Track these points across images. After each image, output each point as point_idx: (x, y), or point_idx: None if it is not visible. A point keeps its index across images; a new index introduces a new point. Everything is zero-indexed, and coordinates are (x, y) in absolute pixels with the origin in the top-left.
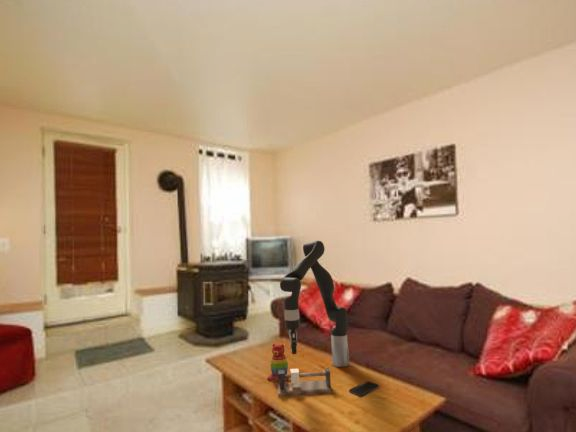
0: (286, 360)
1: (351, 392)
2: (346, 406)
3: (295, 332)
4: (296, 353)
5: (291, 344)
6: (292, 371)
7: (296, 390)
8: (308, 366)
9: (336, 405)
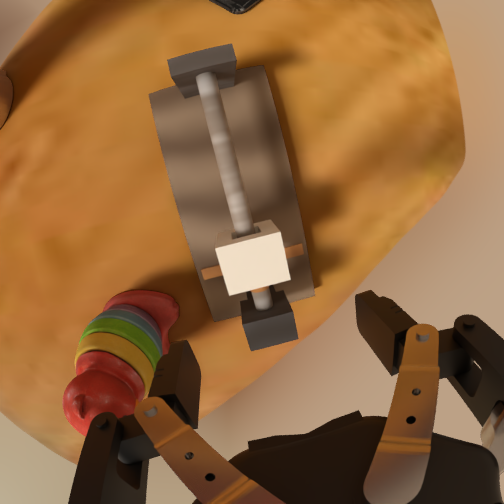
0: (104, 336)
1: (251, 5)
2: (358, 35)
3: (410, 502)
4: (370, 290)
5: (459, 375)
6: (269, 274)
7: (281, 226)
8: (16, 227)
9: (357, 63)
